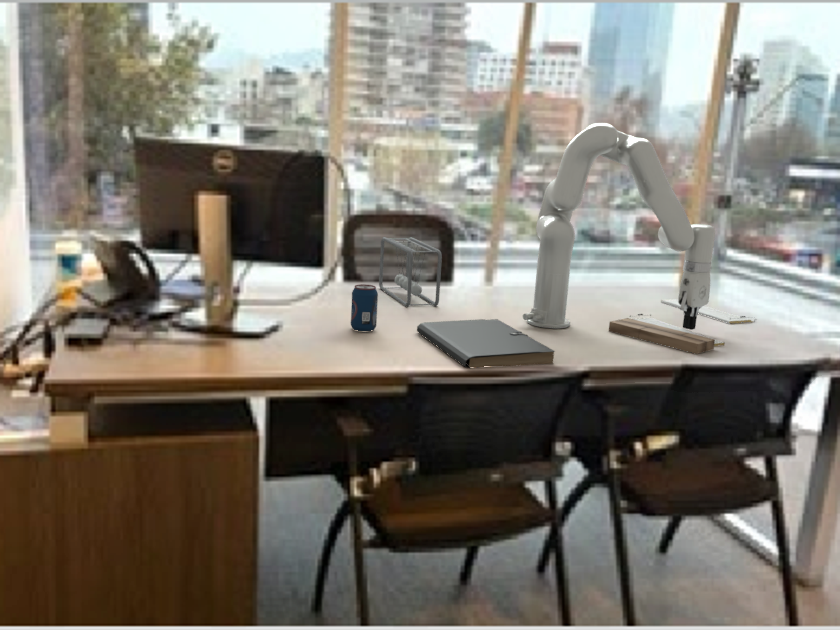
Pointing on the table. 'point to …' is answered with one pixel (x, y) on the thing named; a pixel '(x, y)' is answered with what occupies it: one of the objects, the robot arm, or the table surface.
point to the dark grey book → (486, 343)
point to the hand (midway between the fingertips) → (688, 328)
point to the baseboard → (671, 327)
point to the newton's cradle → (409, 271)
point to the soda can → (364, 307)
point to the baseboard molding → (712, 313)
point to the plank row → (662, 335)
